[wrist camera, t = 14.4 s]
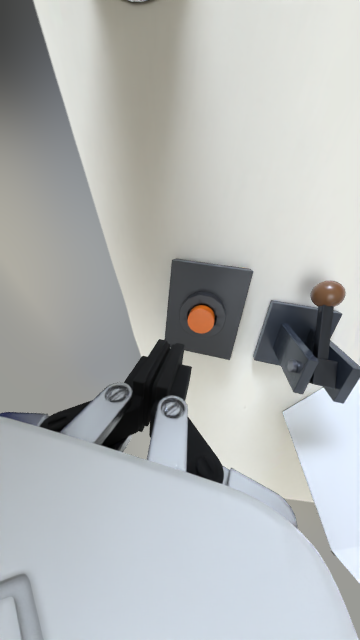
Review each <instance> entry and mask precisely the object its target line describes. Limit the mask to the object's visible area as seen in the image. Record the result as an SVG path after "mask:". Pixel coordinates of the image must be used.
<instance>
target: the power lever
mask: <svg viewBox="0 0 360 640" xmlns="http://www.w3.org/2000/svg"><path fill="white" fill-rule="evenodd" d="M344 298H345V289H344V287H343V286H342V285H341V284H340V283H338V282H335V281H324V282H321V283H319V284H317V285H316V286H315V287H314V288H313V289H312V291H311V300H312V302H313V303H314V304H315V305H317V306H318V315H317V323H316V332H315V340H314V349H313V355H314V356H315V357H316V358H317V360H318V361H319V363H318V365H317V367H316V369H315V371H314V373H313V375H312V377H311V379H310V381H309V383H312V384H315V385H320V386H325V387H329V388H334V389H335V386H336V376H337V366H338V362H336V361H331V360H328V355H329V345H330V336H331V327H332V318H333V308H334V307H335V306H337V305H339V304H340V303H341V302H342V301H343V300H344Z"/></svg>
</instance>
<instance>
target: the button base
mask: <svg viewBox="0 0 360 640" xmlns="http://www.w3.org/2000/svg"><path fill="white" fill-rule="evenodd" d="M252 274H253V271H252V270H251V269H247V268H239V267H232V266H225V265H218V264H211V263H203V262H196V261H189V260H182V259H174V260H172V267H171V278H170V289H169V300H168V311H167V322H166V332H165V340H166V341H168V343H169V344H170V347H171V346H172V344H174V345H175V344H176V343H180V344H184V350H186V351H191V352H195V353H200V354H205V355H209V356H214V357H219V358H223V359H228V360H230V358H231V354H232V350H233V346H234V342H235V339H236V335H237V331H238V327H239V324H240V320H241V316H242V312H243V308H244V305H245V301H246V297H247V293H248V290H249V286H250V282H251V278H252ZM198 305H205V306H208V307H210V308H211V309H212V310H213V312H214V315H215V320H214V326H213V328H212V329H211V330H210V331H209V332H207V333H196V332H194V331H193V330H191V328H190V327H189V325H188V321H187V320H188V316H189V314H190V312H191V310H192V309H193V308H194V307H196V306H198Z"/></svg>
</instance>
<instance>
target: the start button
mask: <svg viewBox="0 0 360 640" xmlns="http://www.w3.org/2000/svg"><path fill="white" fill-rule="evenodd" d="M214 320H215V315H214V312H213V310H212V309H211V308H210V307H208V306H205V305H198V306H196V307H194V308H193V309H192V310H191V312H190V314H189V316H188V320H187V321H188V325H189V327H190V328H191V330H193V331H194V332H196V333H207V332H209V331H210V330H211V329H212V328H213V326H214Z"/></svg>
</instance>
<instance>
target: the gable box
mask: <svg viewBox="0 0 360 640" xmlns="http://www.w3.org/2000/svg"><path fill="white" fill-rule="evenodd" d="M283 416H284V418H285V421H286V424H287V427H288V430H289V433H290V435H291V438H292V441H293V444H294V447H295V450H296V452H297V455H298V458H299V461H300V464H301V467H302V469H303V472H304V475H305V478H306V481H307V484H308V486H309V489H310V492H311V495H312V498H313V501H314V503H315V506H316V509H317V511H318V514H319V518H320V520H321V523H322V526H323V529H324V531H325V535H326V537H327V540H328V543H329V546H330V549H331V552H332V553H333V554H334V555H335V556H336V557H337V558H339V560H340V561H341V562H342V563H343V564H344V566H345V567H346V568H347V569H348V570H349V572H350V573H351V574H352V575H353V576H354V577H355V579H356V580H357V581H358V582H359V583H360V379H359V380H358V382H357V383H356V385H355V386H354V388H353V390H352V391H351V393H350V394H349V396H348V398H347V399H346V401H345V402H344V404H342V403H337V402H334V401H333V400H332V399H331V397H330V396H329V395H328V393H327V392H326V390H325V389H324V387H323V388H322V389H320V390H318V391H317V392H315V393H313V394H312V395H310V396H308V397H307V398H305V399H303V400H302V401H300V402H298V403H297V404H295V405H293V406H292V407H290V408H288V409H287V410H285V411H283Z"/></svg>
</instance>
